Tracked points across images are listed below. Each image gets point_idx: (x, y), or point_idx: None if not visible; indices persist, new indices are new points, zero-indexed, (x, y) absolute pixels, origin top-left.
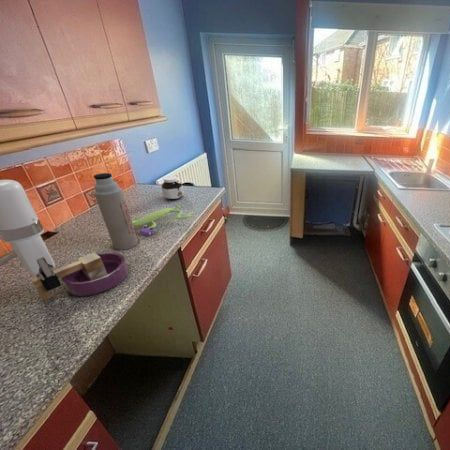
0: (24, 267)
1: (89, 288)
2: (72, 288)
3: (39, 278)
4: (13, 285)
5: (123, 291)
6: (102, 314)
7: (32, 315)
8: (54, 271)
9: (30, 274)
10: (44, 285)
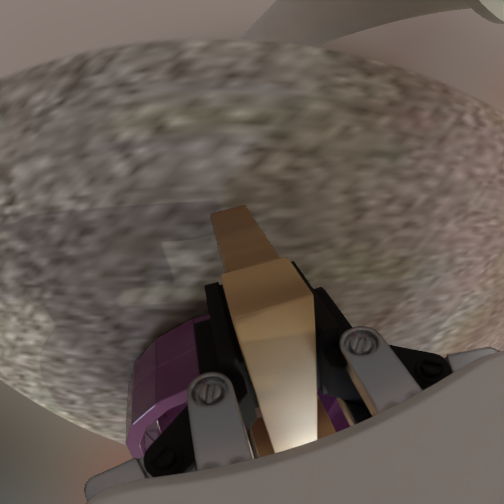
0: (396, 440)
1: (128, 406)
2: (164, 369)
3: (264, 354)
4: (460, 114)
5: (110, 423)
6: (14, 370)
7: (126, 154)
8: (294, 408)
9: (136, 492)
10: (211, 321)
